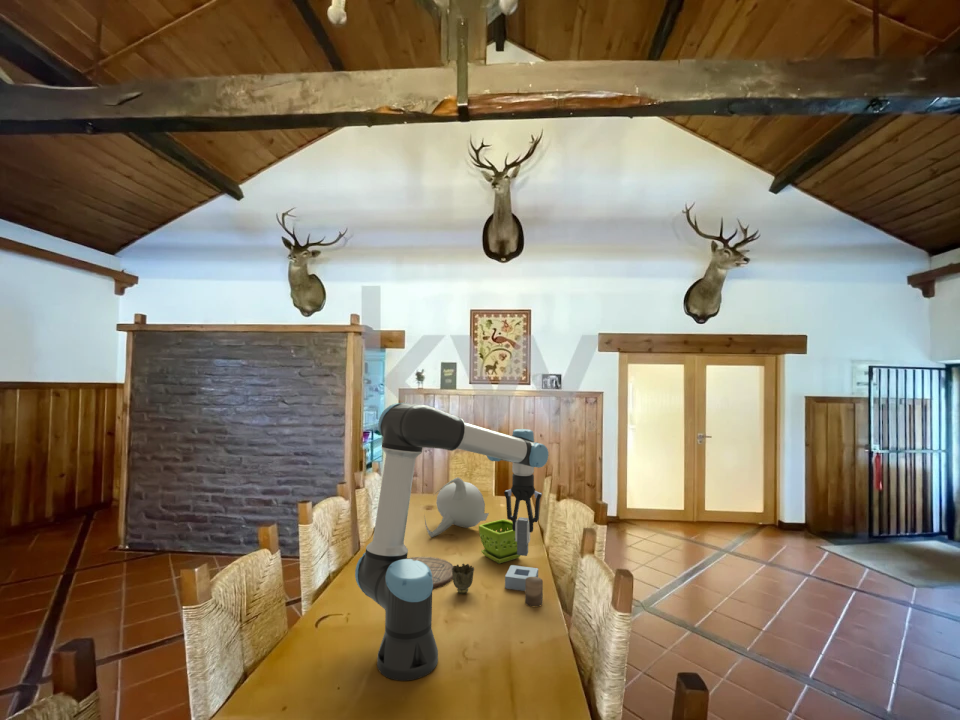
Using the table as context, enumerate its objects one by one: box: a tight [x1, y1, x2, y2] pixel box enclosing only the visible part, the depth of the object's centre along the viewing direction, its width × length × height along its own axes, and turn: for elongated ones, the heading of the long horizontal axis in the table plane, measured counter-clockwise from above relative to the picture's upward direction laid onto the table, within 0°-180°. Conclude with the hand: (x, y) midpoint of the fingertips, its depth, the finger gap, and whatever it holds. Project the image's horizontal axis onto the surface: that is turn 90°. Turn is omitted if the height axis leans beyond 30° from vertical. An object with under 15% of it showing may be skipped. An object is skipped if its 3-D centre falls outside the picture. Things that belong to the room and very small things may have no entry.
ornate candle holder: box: [452, 563, 475, 595], centre depth 155 cm, size 8×7×8 cm
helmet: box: [423, 477, 489, 538], centre depth 215 cm, size 24×30×35 cm
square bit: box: [517, 517, 529, 557], centre depth 162 cm, size 3×3×12 cm
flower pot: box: [478, 518, 522, 565], centre depth 185 cm, size 14×14×13 cm
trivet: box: [407, 556, 454, 589], centre depth 168 cm, size 25×25×2 cm
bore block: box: [504, 564, 539, 592], centre depth 161 cm, size 10×10×4 cm
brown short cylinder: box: [524, 576, 544, 607], centre depth 148 cm, size 6×6×7 cm
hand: (522, 540), depth 162 cm, fingers closed on square bit, 3 cm apart
